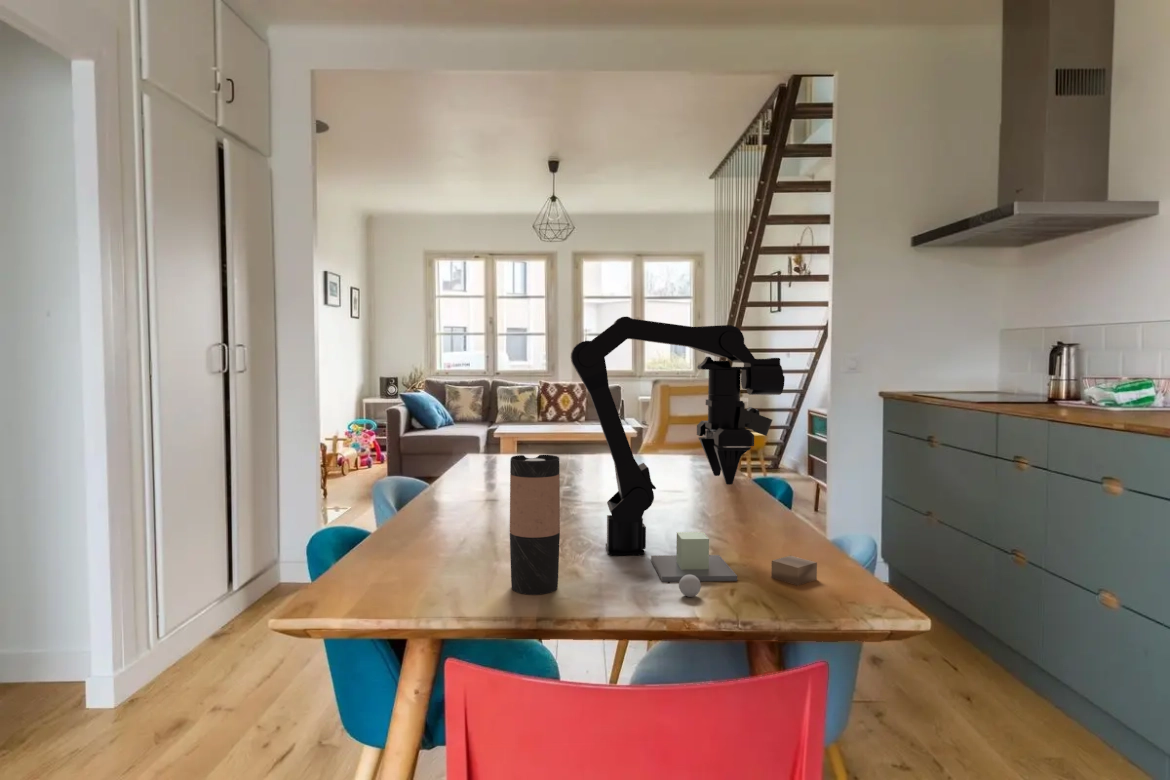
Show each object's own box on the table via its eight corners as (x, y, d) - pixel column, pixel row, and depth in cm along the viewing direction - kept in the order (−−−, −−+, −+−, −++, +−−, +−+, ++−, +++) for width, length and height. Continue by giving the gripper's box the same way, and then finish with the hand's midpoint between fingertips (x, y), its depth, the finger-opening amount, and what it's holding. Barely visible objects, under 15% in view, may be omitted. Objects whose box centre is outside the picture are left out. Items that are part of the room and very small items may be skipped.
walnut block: (797, 586, 111) (797, 567, 111) (771, 578, 115) (771, 560, 115) (816, 580, 114) (817, 562, 114) (790, 573, 118) (790, 555, 118)
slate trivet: (662, 581, 113) (662, 576, 113) (651, 560, 125) (651, 555, 124) (737, 580, 113) (737, 575, 113) (719, 559, 125) (719, 554, 125)
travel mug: (540, 598, 104) (540, 462, 103) (499, 589, 108) (499, 458, 107) (569, 584, 111) (569, 456, 110) (529, 576, 115) (529, 452, 114)
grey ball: (681, 600, 104) (681, 578, 104) (677, 592, 107) (677, 571, 107) (702, 599, 104) (703, 578, 104) (698, 592, 107) (698, 571, 107)
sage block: (681, 569, 116) (681, 539, 116) (676, 561, 121) (676, 532, 121) (708, 569, 117) (709, 538, 116) (702, 561, 121) (703, 532, 121)
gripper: (784, 397, 121) (783, 489, 122) (753, 392, 140) (751, 471, 140) (719, 397, 120) (718, 489, 121) (696, 392, 139) (695, 471, 140)
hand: (722, 479), depth 131 cm, fingers open, 9 cm apart
